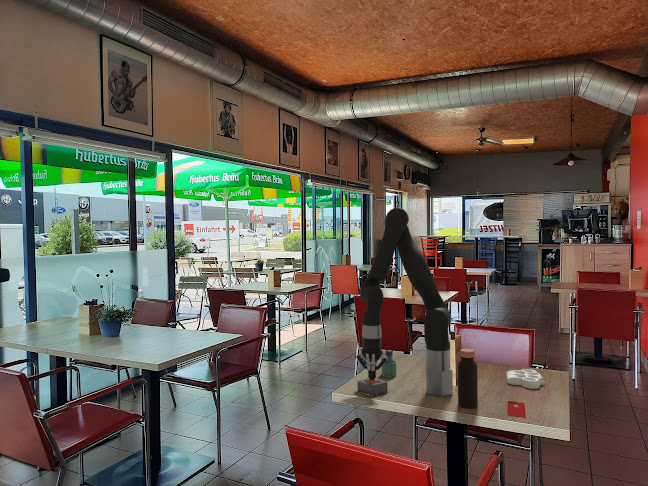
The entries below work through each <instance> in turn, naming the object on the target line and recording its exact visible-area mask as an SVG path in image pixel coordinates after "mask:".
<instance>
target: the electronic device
mask: <svg viewBox="0 0 648 486" xmlns="http://www.w3.org/2000/svg"><path fill="white" fill-rule="evenodd" d="M506 406H507V407H506V408H507V409H506V410H507V413H506V415H508V416H507V417H513V416H514V417H515V418H521V419H522V418H523V419H526V418H527V415H526V414H527V413H525V412H526V404H525V402H518V401H512V400H511V401H510V400H507V404H506Z"/></svg>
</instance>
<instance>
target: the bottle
mask: <svg viewBox="0 0 648 486" xmlns="http://www.w3.org/2000/svg"><path fill="white" fill-rule="evenodd" d="M459 351H460V352H459V353H460V354H459V356H460V361H459V362H457V404H458V406H459V407H461V408H464V409H467V410H469V409H471V410H473V409H476V408H477V407H478V405H479V402H478V400H479V397H478V395H479V392H478V386H479V385H478V383H479V382H478V381H479V379H478V363H477V362H476V361H475V360H474V359H475V355H476V354H475V353H476V352H475V349H472V348H461V349H460V350H459Z"/></svg>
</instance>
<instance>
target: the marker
mask: <svg viewBox="0 0 648 486" xmlns="http://www.w3.org/2000/svg"><path fill="white" fill-rule="evenodd" d="M384 356H385V357H388V359H387V361H386V363H393V360H394V359H393V350H392V349H387V350H385V355H384Z"/></svg>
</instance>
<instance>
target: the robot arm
mask: <svg viewBox="0 0 648 486" xmlns="http://www.w3.org/2000/svg"><path fill="white" fill-rule="evenodd" d="M409 218H410V217H409V214H408V212H407V211H406V210H405V209H404V208H402V207H394V208H392V209H390V210H389V211H388V212H387V213H386V214H385V218H384V226H385V227H384V231H383V235H382V238H381V241H380V244H379V246H378V249H377V250H376V254H375V256H374V258H373V261H372V264H371V267H370V269H369V272H368V274H367V276H366V278H365V279H364V281H363V283H362V284H361V286H360V289H359V298H360V300H361V301H362V302H365V303H367V305H366V309H365V310H363V311H362V327H361V328H362V329H361V336H362V337H361V341H362V342H361V345H362V347H361V348H362V349H361V352H360V353H358V354H357V355H356V357H355V358H356V359H357V361H358V362H359V364H360V365H361V366H362V367H363V369H364V370H365V369H366V370H367V371H368V372H367V377H368V378H370V380H374V379H375V378H377V371H378V370H381V369H382V365H383V364H384V363H385V362H386V361H387V359H388V357H386V355H384V354H383V353H384V352H383V350H382V325H381V323H382V322H381V321H382V320H381V319H382V318H381V312H382V309H383V306H384V305H383V304H384V292H383V290H382V288H380V287H379V286H380V285H381V283H383V282H385V280H387V278H388V274H389V272H390V267H391V265H392V263H393V258H394V256H395V252H396V250H397V253H398V255H399V258H400V261H401V264H402V266H403V269H404V272H405V273H406V276H407V278H408V280H409V283H410V284H411V285H412V287H413V288H414V290H415V291H416V293H418V294H419V295H418V296H420V298H421V299H422V302H423V304H424V308H425V311H426V313H425V314H424V318H423V328H424V329H423V331H424V333H423V334H424V335H423V337H424V342H425V366H426V367H425V370H426V371H425V372H426V375H425V376H426V377H425V378H426V379H425V382H426V383H425V384H426V389H425V390H426V393H427V394H428V395H432V396H437V397H442V398H443V397H447V396H450V395H453V393H454V391H453V390H454V386H453V383H454V382H453V381H454V380H453V377H454V376H453V374H454V373H453V369H452V368H451V342H450V339H449V326H450V324H451V323H452V314H451V313H450V310H449V308H448V307H447V305H446V303H445V301H444V299H443V298H442V296H441V294H440V292H439V289H438V287H437V284H436V281H435V278H434V275H433V273H432V271H431V269H430V267H429V264H428V261H427V260H426V257H425V256H424V254H423V253H422V251H421V249H420V248H419V246H417V244H416V243H415V241H414V239H413V237H412V235H411V231H410V230H409V220H410V219H409ZM379 360H380V362H379V363H378V361H379Z"/></svg>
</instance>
